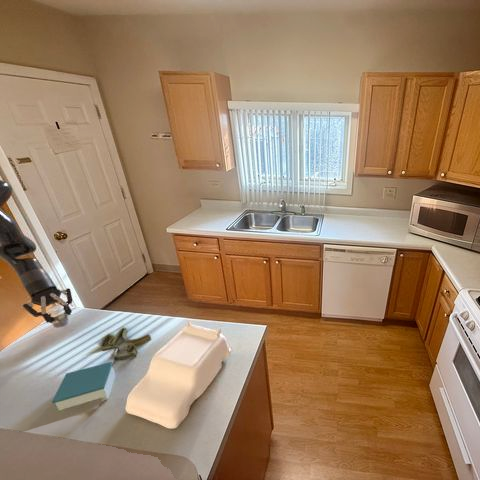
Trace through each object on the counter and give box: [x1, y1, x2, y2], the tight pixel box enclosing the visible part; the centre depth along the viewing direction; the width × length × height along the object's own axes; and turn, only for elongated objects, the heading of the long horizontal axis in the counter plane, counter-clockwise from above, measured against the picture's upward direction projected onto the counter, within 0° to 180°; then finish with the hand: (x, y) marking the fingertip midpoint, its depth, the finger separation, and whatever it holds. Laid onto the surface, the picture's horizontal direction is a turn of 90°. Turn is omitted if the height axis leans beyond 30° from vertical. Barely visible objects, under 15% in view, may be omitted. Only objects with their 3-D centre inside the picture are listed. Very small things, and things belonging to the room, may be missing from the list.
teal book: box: [51, 361, 117, 411], centre depth 80 cm, size 12×10×6 cm
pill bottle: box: [47, 304, 71, 329], centre depth 100 cm, size 5×5×8 cm
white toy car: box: [124, 320, 232, 430], centre depth 85 cm, size 19×30×13 cm, turn 165°
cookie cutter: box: [99, 327, 152, 361], centre depth 99 cm, size 18×12×2 cm, turn 75°
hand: (60, 318), depth 100 cm, fingers closed on pill bottle, 4 cm apart
